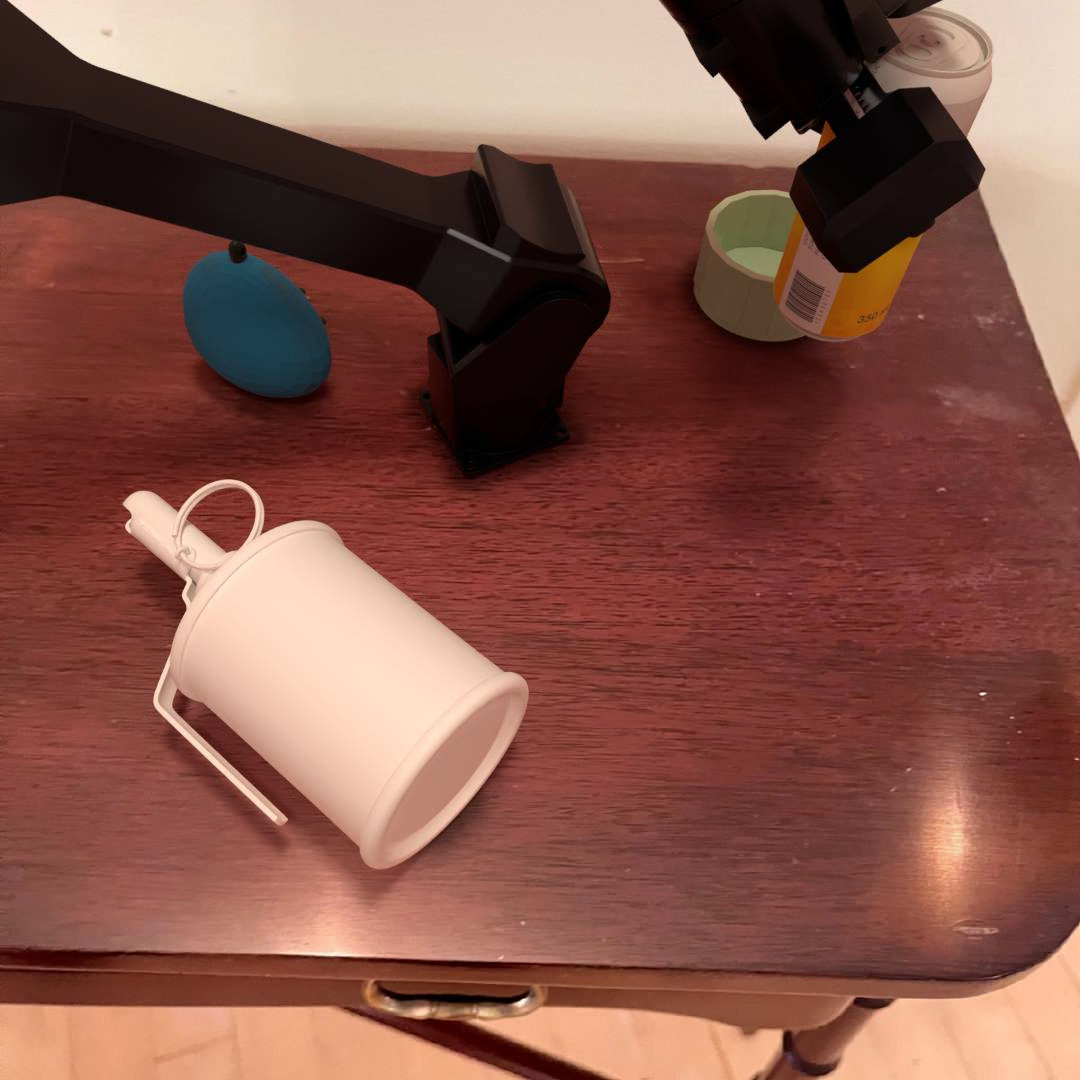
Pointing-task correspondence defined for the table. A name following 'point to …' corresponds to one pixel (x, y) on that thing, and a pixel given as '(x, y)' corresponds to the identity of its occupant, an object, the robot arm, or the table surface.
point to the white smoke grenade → (329, 677)
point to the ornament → (255, 325)
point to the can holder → (745, 264)
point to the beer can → (864, 298)
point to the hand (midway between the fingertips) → (897, 186)
